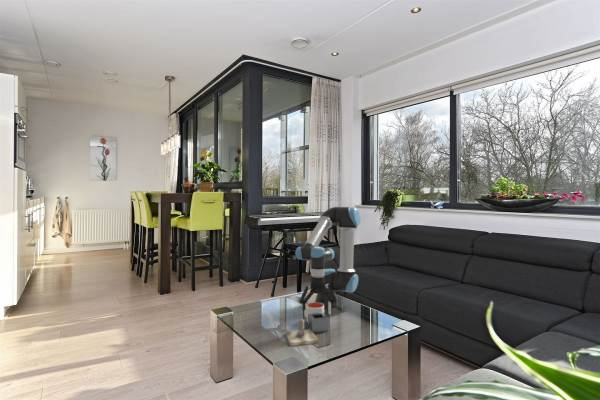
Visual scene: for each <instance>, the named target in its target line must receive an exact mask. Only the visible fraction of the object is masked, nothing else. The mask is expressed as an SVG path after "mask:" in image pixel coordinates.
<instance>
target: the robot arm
mask: <svg viewBox="0 0 600 400" xmlns="http://www.w3.org/2000/svg"><path fill="white" fill-rule="evenodd" d="M360 224H361V214H360V211H359V209H358V208H357V207H354V206H353V207H351V206H334V207H330V208H329V209H327V210H326V211H324V212H323V213H322V214H320V216H319V218H318V222H317V224H316V226H315V227H314V229H313V230H312V232H311V233H310V235H309V236H308V238H307V239H306V241H305V243H304V244H303V246H298V247H297V248H296V249H295V253H294V255H295V257H296V259H297V260H301V261H310V285H308V284H305V285H304V289H303V292H302V294H301V296H300V299H299V300H298V302H299V303H300V304H302V311H304V313H303V315H304V317H306V318H307V304H308V303H307V302H308V301H309V300H310V298H311V297H312V296H313V295H314V294H316V296H315V300H314V302H316V303H322V304H324V309H327V313H328V315H329V316H331V315H332V309H333V308H336V307H338V306H339V301H338V300H339V299H338V298H337V294H336V291H338V292H346V293H354V292H355V291H356V290H357V288H358V286H359V275H358V274H357V273H356V269H354V252H355V251H354V250H355V249H354V248H355V231H356V230H357V227H358V226H359V225H360ZM334 225H335V226H337V225H338V228H339V230H340V246H339V247H340V248H339V249H340V251H339V252H340V253H339V267H338V268H337V270H336V269H334V268H326V267H325V265H326V263H329V262H331V261H333V260H334V258H335V251H334V250H333V249H332V248H330V247H325V248H324V247H323V246H322V247H321V246H319V245H320V244H321V242H322V240H323V238H324V237H325V235H326V233H327V231H329V229H331V228H332V226H334ZM310 289H311V290H310ZM308 292H309V293H308Z"/></svg>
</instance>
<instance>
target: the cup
mask: <svg viewBox="0 0 600 400" xmlns="http://www.w3.org/2000/svg"><path fill="white" fill-rule="evenodd" d="M306 304H307V317H306V322H307V323H308V314H315V313H324V314H325V308H324V304H322V303H316V302H315V301H314V302H308V303H306Z"/></svg>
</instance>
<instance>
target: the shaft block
mask: <svg viewBox="0 0 600 400" xmlns="http://www.w3.org/2000/svg"><path fill="white" fill-rule="evenodd" d="M284 336H285V337H286V340H287V342H288V344H289V346H290V347H292V346H303V345H310V344H311V345H312V344H313V345H314V344H319V339H318V338H317V336H316V334H315V333H313V332H312V330H311V329H309V328H308V329H305V319H302V318H299V319H297V330H291V331H284Z"/></svg>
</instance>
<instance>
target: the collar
mask: <svg viewBox="0 0 600 400" xmlns="http://www.w3.org/2000/svg"><path fill="white" fill-rule="evenodd" d="M307 327H308V329H311V330H312V332H313V333H314V334H315V333H317V334H318V333H325V332H329V329H330V328H329V327H330V326H329V317H328V316H327V315H326V314H325V312H324V313H315V314H308V322H307Z"/></svg>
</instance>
